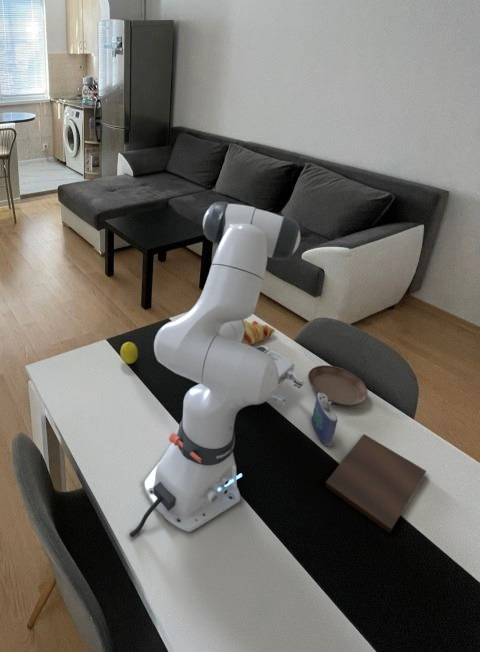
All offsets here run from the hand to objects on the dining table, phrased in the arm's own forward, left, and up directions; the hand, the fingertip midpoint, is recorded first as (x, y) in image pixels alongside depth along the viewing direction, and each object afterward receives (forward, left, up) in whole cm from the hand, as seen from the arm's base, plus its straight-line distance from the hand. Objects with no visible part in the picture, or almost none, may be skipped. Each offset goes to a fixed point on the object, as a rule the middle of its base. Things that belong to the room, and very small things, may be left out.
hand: (292, 393), depth 114 cm
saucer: (+17, -4, -7) cm, 19 cm away
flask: (0, -8, -7) cm, 11 cm away
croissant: (+18, +26, -7) cm, 32 cm away
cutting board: (-4, -22, -7) cm, 24 cm away
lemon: (-20, +43, -7) cm, 48 cm away
